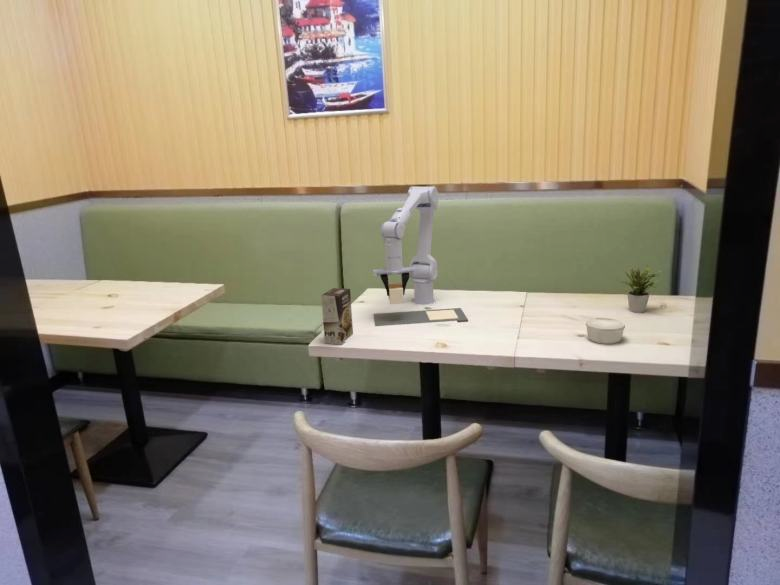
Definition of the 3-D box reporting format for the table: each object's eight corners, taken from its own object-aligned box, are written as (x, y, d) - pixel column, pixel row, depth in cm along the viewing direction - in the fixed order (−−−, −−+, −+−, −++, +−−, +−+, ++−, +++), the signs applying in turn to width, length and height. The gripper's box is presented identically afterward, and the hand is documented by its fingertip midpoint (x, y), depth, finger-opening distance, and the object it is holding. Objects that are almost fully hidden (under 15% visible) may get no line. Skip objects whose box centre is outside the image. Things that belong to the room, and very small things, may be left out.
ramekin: (621, 333, 182) (622, 317, 181) (626, 346, 172) (627, 329, 170) (583, 332, 185) (584, 316, 183) (586, 345, 174) (587, 328, 173)
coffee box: (342, 345, 184) (338, 295, 180) (324, 343, 186) (320, 294, 182) (354, 335, 192) (350, 288, 188) (336, 334, 194) (332, 287, 190)
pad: (425, 311, 211) (425, 311, 211) (453, 310, 211) (453, 309, 211) (429, 320, 201) (429, 319, 201) (458, 318, 202) (458, 318, 202)
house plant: (657, 320, 192) (661, 271, 188) (613, 315, 199) (616, 268, 195) (662, 308, 204) (666, 262, 200) (620, 303, 211) (623, 259, 206)
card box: (388, 297, 207) (387, 283, 206) (401, 296, 208) (400, 283, 206) (390, 303, 200) (389, 289, 198) (403, 303, 200) (403, 289, 199)
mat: (373, 315, 212) (373, 313, 212) (460, 309, 214) (460, 307, 213) (375, 327, 198) (375, 326, 198) (468, 321, 200) (468, 319, 200)
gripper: (373, 260, 195) (375, 299, 199) (416, 257, 196) (417, 296, 200) (372, 256, 202) (374, 293, 206) (413, 253, 203) (415, 291, 206)
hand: (395, 294), depth 203 cm, fingers closed on card box, 5 cm apart
